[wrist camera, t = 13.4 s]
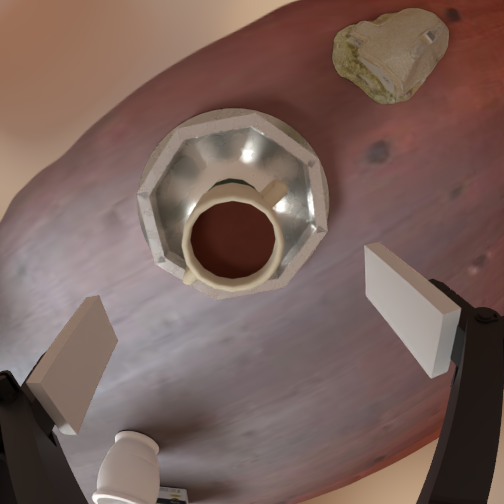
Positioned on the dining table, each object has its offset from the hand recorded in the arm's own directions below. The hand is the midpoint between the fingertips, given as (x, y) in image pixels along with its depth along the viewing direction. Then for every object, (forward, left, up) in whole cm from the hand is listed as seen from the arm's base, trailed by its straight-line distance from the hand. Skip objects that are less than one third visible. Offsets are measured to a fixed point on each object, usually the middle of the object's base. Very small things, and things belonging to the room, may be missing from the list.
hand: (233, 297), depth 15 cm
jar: (-26, -38, -21) cm, 50 cm away
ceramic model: (+21, +15, -21) cm, 33 cm away
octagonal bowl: (0, 0, -21) cm, 21 cm away
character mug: (0, 0, -20) cm, 20 cm away
